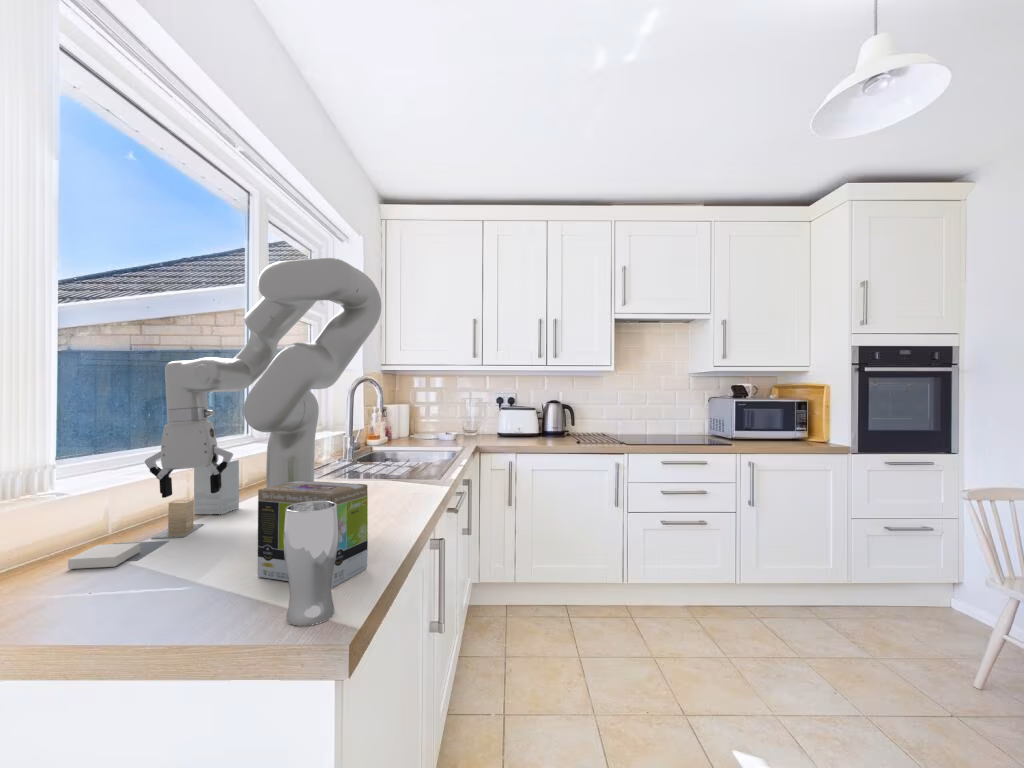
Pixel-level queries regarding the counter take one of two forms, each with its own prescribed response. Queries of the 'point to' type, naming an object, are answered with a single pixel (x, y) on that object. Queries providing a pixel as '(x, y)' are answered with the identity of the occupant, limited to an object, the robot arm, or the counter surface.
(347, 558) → the tea box
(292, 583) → the beer glass
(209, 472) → the supplement box
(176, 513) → the trowel
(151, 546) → the mat
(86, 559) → the tile
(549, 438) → the counter surface
